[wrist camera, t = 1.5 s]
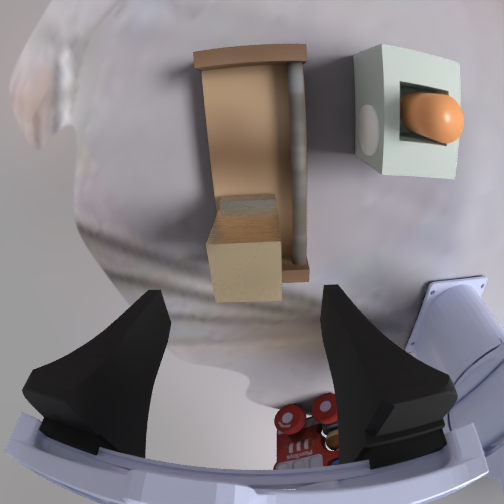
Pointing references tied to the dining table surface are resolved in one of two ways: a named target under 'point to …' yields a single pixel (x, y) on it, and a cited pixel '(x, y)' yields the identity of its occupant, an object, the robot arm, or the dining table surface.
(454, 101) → the orange rounded peg
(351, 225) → the dining table surface
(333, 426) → the toy fire truck
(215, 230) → the block
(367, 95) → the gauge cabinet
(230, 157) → the rail deck
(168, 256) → the dining table surface
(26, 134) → the dining table surface
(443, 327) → the robot arm
